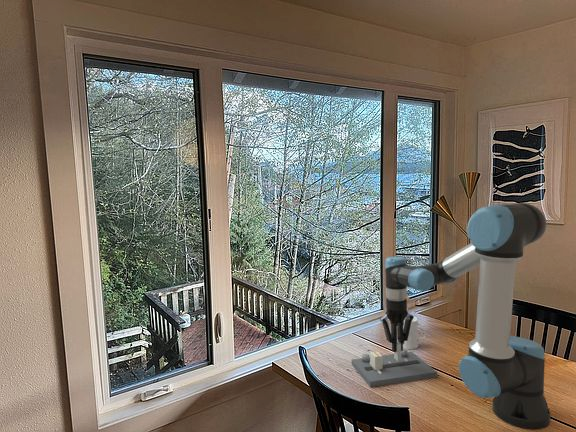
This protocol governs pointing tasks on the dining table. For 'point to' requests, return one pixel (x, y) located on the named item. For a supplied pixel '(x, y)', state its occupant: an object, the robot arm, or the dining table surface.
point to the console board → (394, 369)
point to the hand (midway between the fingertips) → (397, 359)
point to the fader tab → (376, 360)
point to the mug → (413, 335)
